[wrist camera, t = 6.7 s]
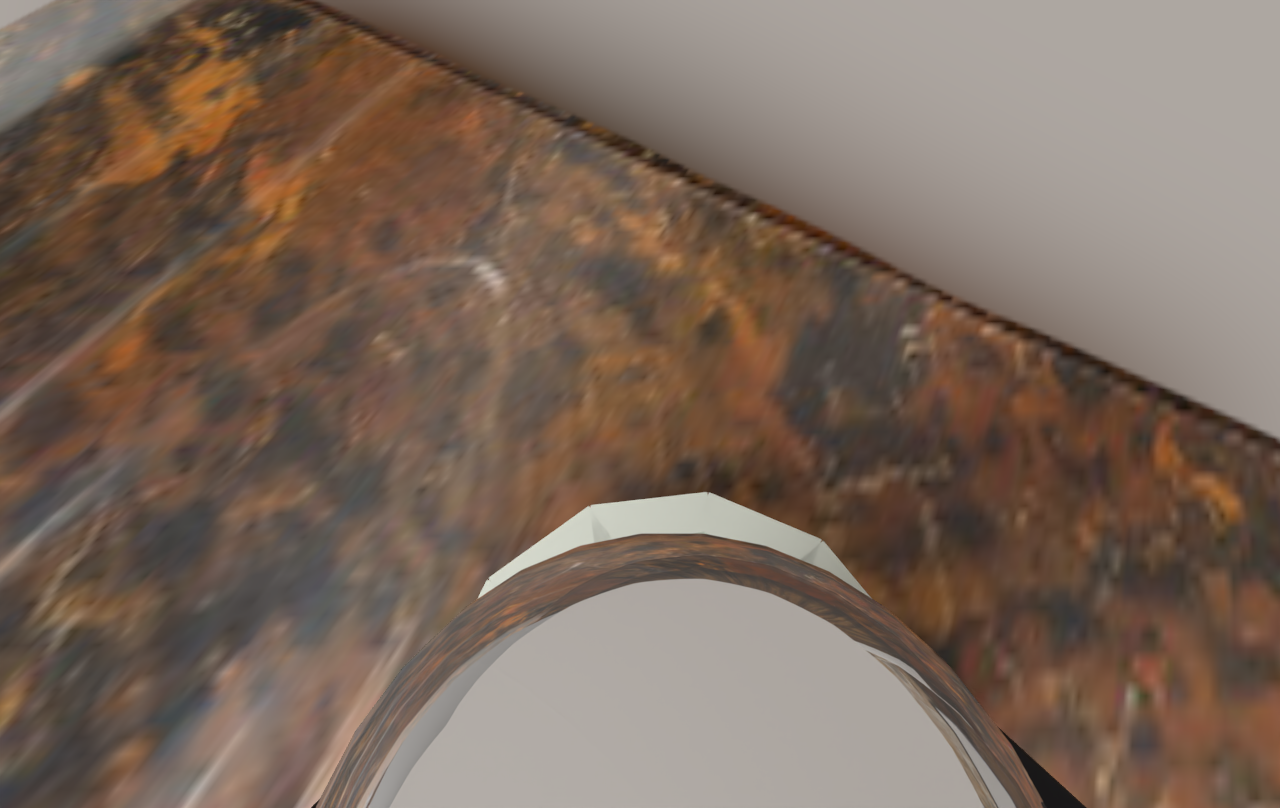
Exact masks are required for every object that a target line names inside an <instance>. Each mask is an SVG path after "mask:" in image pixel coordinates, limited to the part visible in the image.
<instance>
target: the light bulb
mask: <svg viewBox="0 0 1280 808" xmlns="http://www.w3.org/2000/svg"><path fill="white" fill-rule="evenodd" d="M316 808H1046V806H1045V804H1044V802H1043V800H1042V799H1041V797H1040V795H1039V793H1038V791H1037V790H1036V788H1035V786H1034V784H1033V782H1032V781H1031V779H1030V777H1029V775H1028V774H1027V772H1026V770H1025V768H1024V766H1023V765H1022V763H1021V761H1020V759H1019V757H1018V756H1017V754H1016V752H1015V750H1014V748H1013V747H1012V745H1011V744H1010V742H1009V741H1008V740H1007V739H1006V737H1005V736H1004V735H1003V734H1002V732H1001V731H1000V730H999V728H998V727H997V726H996V725H995V723H994V722H993V721H992V719H991V718H990V717H989V716H988V714H987V713H986V712H985V711H984V709H983V708H982V707H981V705H980V704H979V703H978V702H977V700H976V699H975V698H974V697H973V695H972V694H971V693H970V691H969V690H968V689H967V688H966V686H965V685H964V684H963V683H962V681H961V680H960V679H959V677H958V676H957V675H956V674H955V673H954V671H953V670H952V669H951V668H950V667H949V665H948V664H947V663H946V662H945V661H944V660H943V659H942V658H941V657H940V656H939V655H938V654H937V653H936V652H935V651H933V650H932V649H931V648H930V647H929V646H928V645H927V644H926V643H925V642H924V641H922V640H921V639H920V638H919V637H918V636H917V635H916V634H915V633H914V632H913V631H912V630H910V629H909V628H908V627H907V626H906V625H905V624H904V623H903V622H902V621H901V620H900V619H898V618H897V617H896V616H895V615H894V614H893V613H892V612H891V611H890V610H889V609H887V608H886V607H884V606H882V605H881V604H879V603H878V602H876V601H875V600H873V599H871V598H870V597H868V596H867V595H865V594H864V593H862V592H860V591H859V590H857V589H856V588H854V587H853V586H851V585H849V584H848V583H846V582H845V581H843V580H842V579H840V578H838V577H837V576H835V575H834V574H832V573H831V572H829V571H827V570H824V569H822V568H820V567H817V566H815V565H812V564H810V563H807V562H805V561H802V560H800V559H797V558H795V557H792V556H790V555H787V554H785V553H783V552H780V551H778V550H775V549H773V548H770V547H768V546H764V545H759V544H754V543H749V542H744V541H739V540H734V539H729V538H724V537H719V536H714V535H708V534H636V535H631V536H626V537H621V538H616V539H611V540H606V541H601V542H596V543H591V544H586V545H581V546H578V547H576V548H573V549H571V550H569V551H566V552H564V553H561V554H559V555H556V556H554V557H552V558H549V559H547V560H544V561H542V562H540V563H537V564H535V565H532V566H530V567H527V568H525V569H523V570H521V571H519V572H518V573H516V574H515V575H513V576H511V577H510V578H508V579H507V580H505V581H504V582H502V583H501V584H499V585H498V586H496V587H495V588H493V589H492V590H490V591H489V592H487V593H486V594H484V595H483V596H481V597H480V598H478V599H477V600H475V601H473V602H472V603H470V604H469V605H467V606H466V607H465V608H464V609H463V610H462V611H461V612H460V613H459V614H458V615H457V616H456V617H454V618H453V619H452V620H451V621H450V622H449V623H448V624H447V625H446V626H445V627H444V628H443V629H442V630H441V631H440V632H439V633H438V634H437V635H436V636H435V637H433V638H432V639H431V640H430V641H429V642H428V643H427V644H426V645H425V646H424V647H423V648H422V649H421V650H420V651H419V652H418V653H417V654H416V655H415V656H414V657H413V658H412V659H411V660H410V661H409V662H408V663H407V664H406V665H405V666H404V667H403V668H402V669H401V670H400V672H399V673H398V674H397V676H396V677H395V679H394V680H393V681H392V683H391V684H390V685H389V687H388V688H387V689H386V691H385V692H384V693H383V695H382V696H381V697H380V699H379V700H378V701H377V703H376V704H375V705H374V707H373V708H372V709H371V711H370V712H369V714H368V715H367V716H366V718H365V719H364V720H363V722H362V723H361V724H360V726H359V727H358V728H357V730H356V731H355V733H354V735H353V736H352V738H351V740H350V742H349V744H348V746H347V748H346V750H345V752H344V754H343V756H342V758H341V760H340V761H339V763H338V765H337V767H336V769H335V771H334V773H333V775H332V777H331V779H330V781H329V783H328V785H327V787H326V788H325V790H324V792H323V794H322V796H321V798H320V800H319V802H318V804H317V806H316Z"/></svg>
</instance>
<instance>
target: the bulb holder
mask: <svg viewBox="0 0 1280 808" xmlns="http://www.w3.org/2000/svg"><path fill="white" fill-rule="evenodd" d="M636 534H708V535H714V536H719V537H724V538H729V539H734V540H739V541H744V542H749V543H754V544H759V545H764V546H768V547H770V548H773V549H775V550H778V551H780V552H783V553H785V554H787V555H790V556H792V557H795V558H797V559H800V560H802V561H805V562H807V563H810V564H812V565H815V566H817V567H820V568H822V569H824V570H827V571H829V572H831V573H832V574H834V575H835V576H837V577H838V578H840V579H842V580H843V581H845V582H846V583H848V584H849V585H851V586H853V587H854V588H856V589H857V590H859V591H860V592H862V593H864V594H865V595H867V596H868V597H870V596H869V595H868V594H867V592H866V591H865V590H864V589H863V588H862V586H861V585H860V584H859V583H858V582H857V580H856V579H855V578H854V577H853V576H852V574H851V573H850V572H849V571H848V570H847V568H846V567H845V566H844V565H843V564H842V562H841V561H840V560H839V559H838V558H837V556H836V555H835V554H834V553H833V552H832V550H831V549H830V548H829V547H828V546H827V544H826V543H825V542H824V541H822V542H821V540H822V539H820V538H817V537H815V536H812V535H810V534H808V533H805V532H803V531H801V530H798V529H796V528H793V527H791V526H789V525H786V524H784V523H781V522H779V521H777V520H774V519H772V518H770V517H767V516H765V515H762V514H760V513H758V512H755V511H753V510H750V509H748V508H746V507H743V506H741V505H739V504H736V503H734V502H731V501H729V500H727V499H724V498H722V497H719V496H717V495H715V494H712V493H710V492H709V494H707V492H702V493H693V494H684V495H676V496H667V497H658V498H649V499H640V500H632V501H623V502H614V503H605V504H596V505H591V508H590V507H589V506H588V507H587V508H585V509H584V510H582V511H581V512H580V513H578V514H577V515H575V516H574V517H573V518H571V519H570V520H568V521H567V522H566V523H564V524H563V525H562V526H560V527H559V528H557V529H556V530H555V531H553V532H552V533H550V534H549V535H548V536H546V537H545V538H543V539H542V540H541V541H539V542H538V543H536V544H535V545H534V546H532V547H531V548H530V549H528V550H527V551H525V552H524V553H523V554H521V555H520V556H518V557H517V558H516V559H514V560H513V561H511V562H510V563H509V564H507V565H506V566H505V567H503V568H502V569H500V570H499V571H498V572H496V573H495V574H493V575H492V576H491V577H489V579H490V581H489V580H487V581H486V583H485V585H484V587H483V589H482V591H481V593H480V595H479V597H478V598H480V597H481V596H483V595H484V594H486V593H487V592H489V591H490V590H492V589H493V588H495V587H496V586H498V585H499V584H501V583H502V582H504V581H505V580H507V579H508V578H510V577H511V576H513V575H515V574H516V573H518V572H519V571H521V570H523V569H525V568H527V567H530V566H532V565H535V564H537V563H540V562H542V561H544V560H547V559H549V558H552V557H554V556H556V555H559V554H561V553H564V552H566V551H569V550H571V549H573V548H576V547H578V546H581V545H586V544H591V543H596V542H601V541H606V540H611V539H616V538H621V537H626V536H631V535H636ZM870 598H871V597H870ZM871 599H872V598H871Z"/></svg>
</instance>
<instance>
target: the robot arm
mask: <svg viewBox="0 0 1280 808" xmlns="http://www.w3.org/2000/svg"><path fill="white" fill-rule="evenodd" d="M999 730H1000V731H1001V732H1002V734H1003V735H1004V736H1005V737H1006V739H1007V740H1008V741H1009V742H1010V744H1011V745H1012V747H1013V748H1014V750H1015V752H1016V754H1017V756H1018V757H1019V759H1020V761H1021V763H1022V765H1023V766H1024V768H1025V770H1026V772H1027V774H1028V775H1029V777H1030V779H1031V781H1032V782H1033V784H1034V786H1035V788H1036V790H1037V791H1038V793H1039V795H1040V797H1041V799H1042V800H1043V802H1044V804H1045V806H1046V808H1086V807H1085V806H1084V805H1083V804H1082V803H1081V802H1080V801H1079V800H1077V799H1076V798H1075V797H1074V796H1073V795H1072V794H1071V793H1070V792H1069V791H1068V790H1066V789H1065V788H1064V787H1063V786H1062V785H1061V784H1060V783H1059V782H1058V781H1057V780H1055V779H1054V778H1053V777H1052V776H1051V775H1050V774H1049V773H1048V772H1047V771H1046V770H1045V769H1043V768H1042V767H1041V766H1040V765H1039V764H1038V763H1037V762H1036V761H1035V760H1034V759H1032V758H1031V757H1030V756H1029V755H1028V754H1027V753H1026V752H1025V751H1024V750H1023V749H1021V748H1020V747H1019V746H1018V745H1017V744H1016V743H1015V742H1014V741H1013V740H1012V739H1010V738H1009V737H1008V736H1007V735H1006V734H1005V733H1004V732H1003V731H1002V730H1001V729H1000V728H999ZM319 800H320V799H319ZM319 800H318V801H317V802H316V803H315V804H314V805H313V806H312V807H311V808H316V806H317V804H318V802H319Z"/></svg>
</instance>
